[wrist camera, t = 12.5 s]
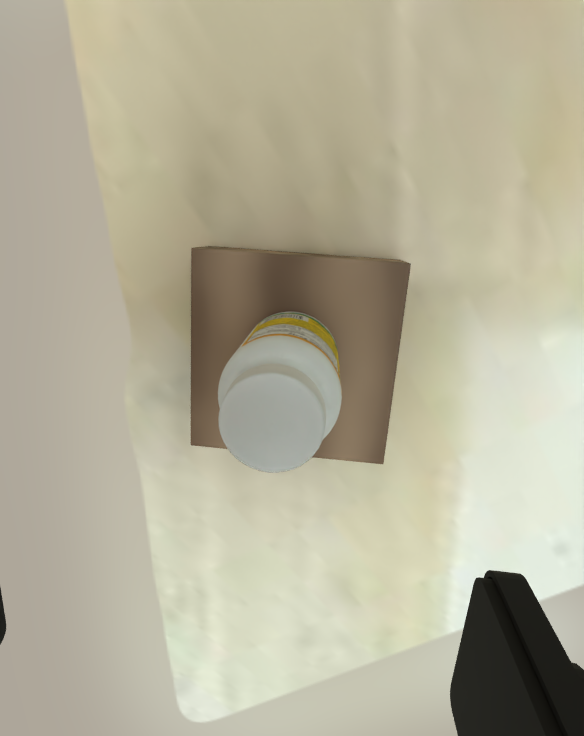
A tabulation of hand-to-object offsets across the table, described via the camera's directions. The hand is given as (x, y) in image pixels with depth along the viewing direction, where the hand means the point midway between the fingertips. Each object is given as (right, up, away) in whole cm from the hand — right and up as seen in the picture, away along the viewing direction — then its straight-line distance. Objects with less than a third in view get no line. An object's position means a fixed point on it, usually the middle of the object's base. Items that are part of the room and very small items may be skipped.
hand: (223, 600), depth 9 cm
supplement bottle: (+1, +5, +18) cm, 19 cm away
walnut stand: (+2, +6, +22) cm, 23 cm away
